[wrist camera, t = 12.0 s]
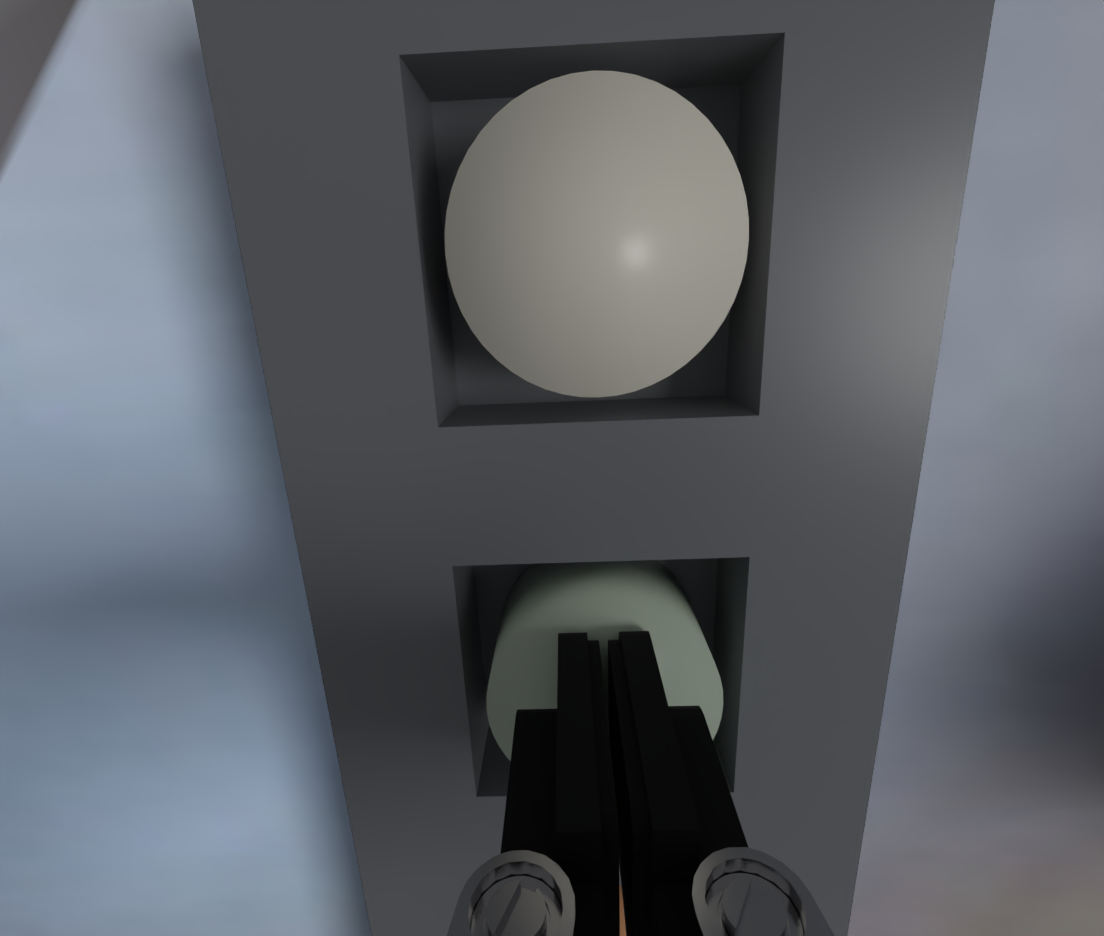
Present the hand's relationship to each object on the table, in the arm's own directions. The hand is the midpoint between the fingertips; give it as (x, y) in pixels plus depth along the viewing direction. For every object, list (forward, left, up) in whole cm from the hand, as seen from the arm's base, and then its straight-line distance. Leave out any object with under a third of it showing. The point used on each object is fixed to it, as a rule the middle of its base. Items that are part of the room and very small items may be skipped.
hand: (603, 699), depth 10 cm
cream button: (+8, 0, -3) cm, 8 cm away
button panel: (0, 0, -4) cm, 4 cm away
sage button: (0, 0, -3) cm, 3 cm away
